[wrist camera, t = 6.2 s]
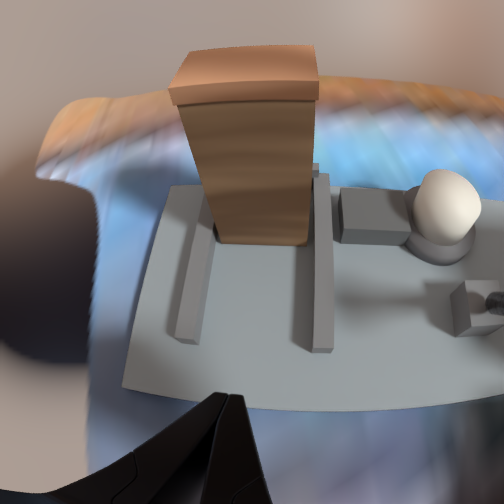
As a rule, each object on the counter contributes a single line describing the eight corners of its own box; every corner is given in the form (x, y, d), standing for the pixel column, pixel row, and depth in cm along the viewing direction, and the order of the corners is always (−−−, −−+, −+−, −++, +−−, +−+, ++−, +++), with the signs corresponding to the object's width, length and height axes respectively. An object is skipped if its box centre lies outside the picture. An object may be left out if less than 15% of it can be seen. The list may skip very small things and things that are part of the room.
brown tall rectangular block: (308, 248, 18) (319, 81, 9) (219, 245, 19) (167, 88, 10) (308, 204, 20) (313, 45, 11) (227, 203, 21) (189, 51, 12)
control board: (538, 385, 13) (581, 369, 9) (129, 389, 16) (88, 376, 12) (501, 207, 20) (525, 171, 16) (175, 192, 23) (157, 149, 19)
